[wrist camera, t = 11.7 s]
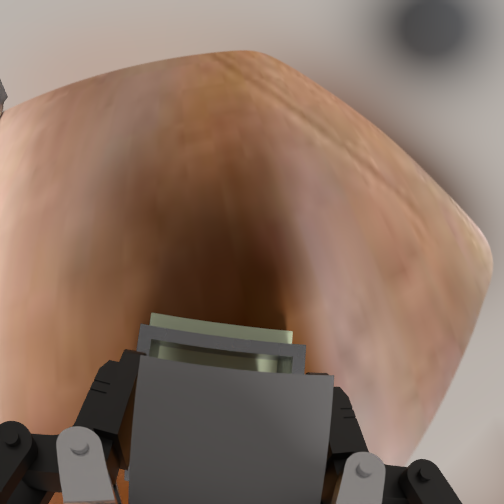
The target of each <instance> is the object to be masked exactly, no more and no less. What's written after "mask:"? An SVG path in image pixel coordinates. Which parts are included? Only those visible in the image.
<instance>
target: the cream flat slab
mask: <svg viewBox="0 0 504 504" xmlns="http://www.w3.org/2000/svg"><path fill="white" fill-rule="evenodd" d="M150 325H151V326H156V327H162V328H168V329H174V330H180V331H187V332H193V333H200V334H207V335H214V336H222V337H230V338H238V339H246V340H255V341H265V342H275V343H287V344H292V334H293V331H283V330H273V329H264V328H255V327H247V326H238V325H230V324H223V323H215V322H208V321H201V320H194V319H188V318H181V317H175V316H169V315H163V314H157V313H151V319H150ZM158 358H160V359H166V360H172V361H178V362H184V363H191V364H197V365H205V366H212V367H220V368H229V369H238V370H248V371H258V372H271V373H277V362H278V360H266V359H255V358H245V357H236V356H227V355H219V354H211V353H204V352H197V351H190V350H184V349H177V348H171V347H165V346H160V348H159V355H158Z"/></svg>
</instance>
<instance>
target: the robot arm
mask: <svg viewBox="0 0 504 504" xmlns="http://www.w3.org/2000/svg"><path fill="white" fill-rule="evenodd" d="M6 99H7V94H6V92H5V90H4V87H3V85H2V82H1V80H0V116H1V114H2V110H3V104H4V101H5V100H6ZM140 355H144V356H147V355H146V353H143V352H138V351H133V350H128V349H125V350H124V352H123V354H122V357H121V359H120V361H119V362H116V361H111V360H109V361H108V362H107V363H105V364H104V365H103V366H102V367H101V368H99V371H98V373H97V375H96V377H95V379H94V382H93V383H92V386H91V388H90V390H89V392H88V394H87V396H86V399H85V401H84V403H83V405H82V408H81V410H80V412H79V415H78V417H77V419H76V422H75V423H74V425H73V426H72V427H70V428H67V429H65V430H64V431H62V432H61V433H60V434H59V435H41V434H31V433H30V432H29V430H28V429H27V427H26V426H24V425H23V424H21V423H19V422H16V421H7V422H4V423H2V424H0V504H48V503H49V501H50V500H51V498H52V496H53V495H54V493H55V492H62V494H63V501H64V504H123V503H122V500H121V496H120V493H119V489H118V486H117V482H116V479H117V475H118V471H119V469H123V470H127V471H128V467H129V463H130V451H131V437H132V425H133V414H134V404H135V394H136V386H137V378H138V370H139V363H140ZM306 375H328V374H327V373H309V372H308V373H306ZM355 417H356V416H355V413H354V411H353V410H352V405H351V403H350V400H349V397H348V396H347V395H346V394H345V392H344V391H343V390H342V389H341V388H340V387H333V400H332V412H331V424H330V434H329V443H328V452H327V460H326V468H325V475H324V483H323V489H322V496H321V502H320V504H462V503H461V501H460V500H459V498H458V497H457V495H456V494H455V492H454V491H453V489H452V488H451V486H450V485H449V483H448V482H447V480H446V479H445V477H444V476H443V474H442V473H441V471H440V470H439V468H438V467H437V466H436V465H435V464H434V463H433V462H431V461H429V460H425V459H419V460H416V461H414V462H412V463H411V464H410V465H409V466H408V467H400V466H391V465H385V464H384V463H383V462H382V460H381V459H380V458H379V457H378V456H376V455H374V454H372V453H369V451H368V449H367V446H366V443H365V440H364V438H363V435H362V432H361V430H360V427H359V424H358V421H357V419H356V418H355Z"/></svg>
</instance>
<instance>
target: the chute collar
mask: <svg viewBox="0 0 504 504" xmlns="http://www.w3.org/2000/svg"><path fill="white" fill-rule="evenodd" d="M160 346H165V347H171V348H177V349H184V350H190V351H197V352H204V353H211V354H219V355H227V356H236V357H245V358H255V359H266V360H278V362H277V373H285V374H303V375H304V369H305V353H306V345H299V344H287V343H275V342H265V341H255V340H246V339H238V338H230V337H222V336H214V335H207V334H200V333H193V332H187V331H180V330H174V329H168V328H162V327H156V326H151V325H145V324H141V325H140V331H139V337H138V344H137V350H136V351H138V352H143V353H146V355H147V356H149V357H155V358H158V355H159V348H160ZM129 470H130V463H129V467H128V471H127V470H125V480H127V481H129Z"/></svg>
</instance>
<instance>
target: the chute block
mask: <svg viewBox="0 0 504 504" xmlns="http://www.w3.org/2000/svg"><path fill="white" fill-rule="evenodd" d="M333 386H334V375H303V374H285V373H271V372H258V371H248V370H238V369H229V368H220V367H212V366H205V365H197V364H191V363H184V362H178V361H172V360H166V359H160V358H155V357H149V356H144V355H140V363H139V370H138V378H137V386H136V394H135V404H134V414H133V425H132V437H131V451H130V470H129V504H320V502H321V496H322V489H323V483H324V475H325V468H326V460H327V452H328V443H329V434H330V424H331V412H332V400H333Z"/></svg>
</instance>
